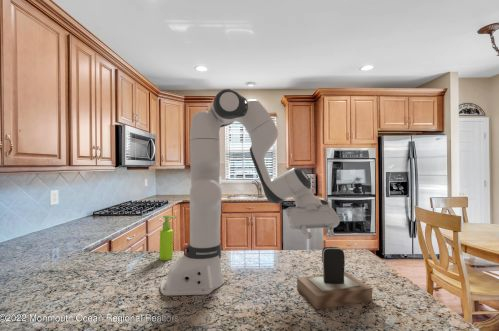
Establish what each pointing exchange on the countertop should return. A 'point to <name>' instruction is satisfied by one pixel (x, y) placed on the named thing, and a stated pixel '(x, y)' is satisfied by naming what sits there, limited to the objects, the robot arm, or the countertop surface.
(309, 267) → the countertop surface
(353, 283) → the brown flat rectangular block
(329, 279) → the battery charger
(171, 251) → the soap dispenser
